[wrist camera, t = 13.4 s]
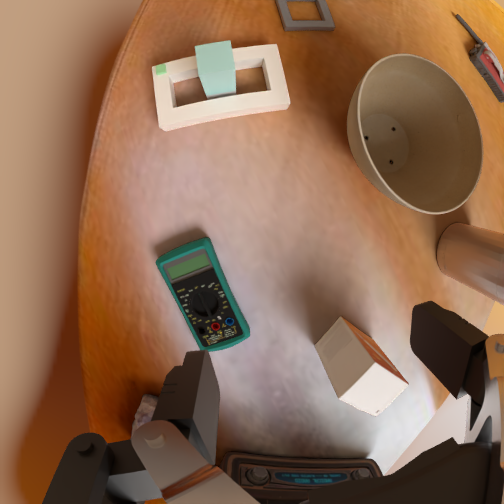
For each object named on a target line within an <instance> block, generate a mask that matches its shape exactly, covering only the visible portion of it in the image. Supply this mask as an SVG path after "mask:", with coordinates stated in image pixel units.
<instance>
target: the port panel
mask: <svg viewBox="0 0 504 504" xmlns="http://www.w3.org/2000/svg"><path fill="white" fill-rule="evenodd" d="M232 52H233V58H234V64H235V70H240V69H247V68H255V67H262V68H263V72H264V77H265V81H266V86H267V91H261V92H253V93H246V94H240V95H234V96H228V97H222V98H217V99H211V100H206V101H202V102H197V103H192V104H188V105H184V106H180V107H177V105H176V98H175V90H174V83H175V82H179V81H183V80H187V79H191V78H196V77H199V75H198V67H197V59H196V56H191V57H187V58H182V59H178V60H174V61H170V62H167V63H163V64H159V65H156V66H152V72H153V81H154V90H155V99H156V107H157V114H158V122H159V127H160V128H161V129H163V130H164V131H169V130H173V129H177V128H181V127H186V126H190V125H194V124H199V123H204V122H209V121H214V120H219V119H224V118H230V117H236V116H242V115H248V114H255V113H262V112H269V111H278V110H287V108H288V107H289V105H290V98H289V93H288V89H287V84H286V80H285V76H284V71H283V67H282V63H281V59H280V55H279V51H278V47H277V44H269V45H259V46H250V47H242V48H235V49H232Z"/></svg>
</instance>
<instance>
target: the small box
mask: <svg viewBox="0 0 504 504" xmlns="http://www.w3.org/2000/svg"><path fill="white" fill-rule="evenodd" d="M315 348H316V351H317V353H318V355H319V357H320V359H321V361H322V364H323V366H324V368H325V370H326V372H327V375H328V377H329V379H330V381H331V383H332V386H333V388H334V390H335V392H336V394H337V397H338V399H340V400H342V401H343V402H345V403H347V404H349V405H351V406H353V407H355V408H357V409H358V410H361V411H364V412H366V413H368V414H371V415H373V416H375V417H376V416H377V415H379V414H380V413H381V412H382V411H383V410H384V409H385V408H386V407H388V406H389V405H390V404H391V403H392V402H393V401H394V400H395V399H396V398H397V397H398V396H399V395H400V394H401V393H402V392H403V391H404V390H405V388H406V387H407V386H408V385H409V383H408V382H407V381H406V380H405V379H404V377H403V376H402V375H401V374H400V372H399V371H398V370H397V369H396V367H395V366H394V365H393V364H392V362H391V361H390V360H389V359H388V357H387V356H386V355H385V354H384V353H383V351H382V350H381V349H380V347H379V346H378V345H377V344H376V342H375V341H374V340H373V339H372V338H370V337H369V336H367V335H366V334H364V333H363V332H362V331H360V330H359V329H357V328H356V327H355V326H353V325H352V324H351V323H349V322H348V321H347V320H345V319H344V318H343V317H341V316H340V317H339V318H338V320H337V321H336V322H335V323H334V324H333V325H332V327H331V328H330V329H329V330H328V331H327V332H326V333H325V334H324V335H323V337H322V338H321V339H320V340H319V341H318V342H317V343H316V344H315Z"/></svg>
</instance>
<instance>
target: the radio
mask: <svg viewBox="0 0 504 504" xmlns="http://www.w3.org/2000/svg"><path fill="white" fill-rule="evenodd" d="M219 468H220V469H221V470H223V471H224V472H225V473H226V474H227V475H228V476H229V477H230V478H231V479H232V480H233V481H234V482H236V483H237V484H238V485H239V486H240V487H241V488H242V489H243V490H245V491H246V492H247V493H248V494H249V495H250V496H252V497H253V498H254V499H255V500H256V501H258V502H259V503H260V504H299V503H301V502H304V501H306V500H308V494H307V490H312V489H316V488H321V487H325V486H329V485H333V484H337V483H341V482H344V481H348V480H358V479H366V478H374V477H381V476H383V474H382V472H381V470H380V468H379V466H378V465H377V463H376V462H375V461H374V460H373V459H304V458H288V457H276V456H265V455H255V454H247V453H239V452H228V453H226V454H225V456H224V458H223V460H222V462H221V464H220V466H219Z"/></svg>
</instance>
